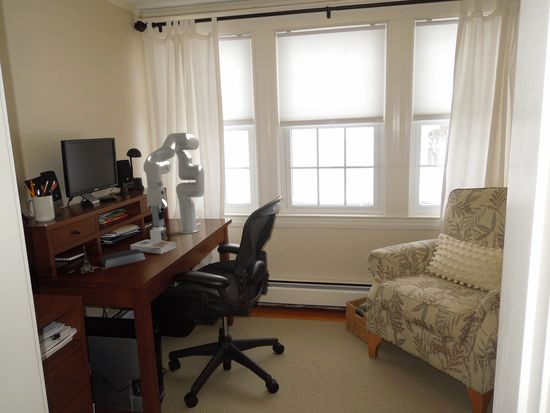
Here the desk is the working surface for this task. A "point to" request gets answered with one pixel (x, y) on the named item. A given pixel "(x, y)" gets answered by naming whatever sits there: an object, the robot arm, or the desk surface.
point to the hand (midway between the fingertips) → (158, 218)
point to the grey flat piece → (153, 246)
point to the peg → (156, 217)
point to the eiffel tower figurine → (87, 266)
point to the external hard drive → (122, 258)
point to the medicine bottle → (158, 233)
